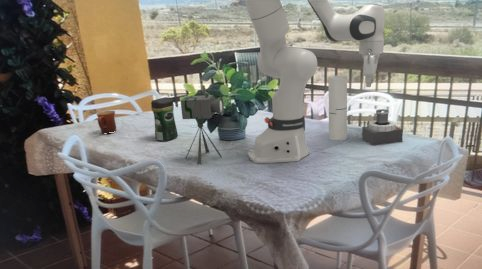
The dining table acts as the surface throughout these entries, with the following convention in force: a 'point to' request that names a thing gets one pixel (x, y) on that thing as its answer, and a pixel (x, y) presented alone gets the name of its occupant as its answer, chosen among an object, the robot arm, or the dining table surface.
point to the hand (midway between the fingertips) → (369, 85)
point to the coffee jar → (164, 119)
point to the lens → (382, 117)
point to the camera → (201, 114)
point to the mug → (106, 121)
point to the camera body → (382, 133)
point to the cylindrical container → (337, 107)
